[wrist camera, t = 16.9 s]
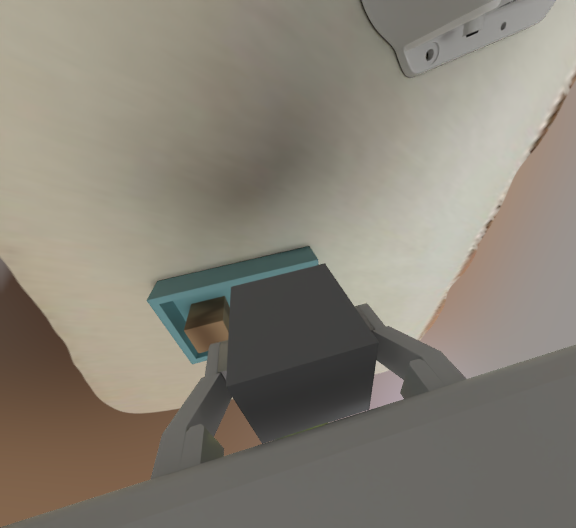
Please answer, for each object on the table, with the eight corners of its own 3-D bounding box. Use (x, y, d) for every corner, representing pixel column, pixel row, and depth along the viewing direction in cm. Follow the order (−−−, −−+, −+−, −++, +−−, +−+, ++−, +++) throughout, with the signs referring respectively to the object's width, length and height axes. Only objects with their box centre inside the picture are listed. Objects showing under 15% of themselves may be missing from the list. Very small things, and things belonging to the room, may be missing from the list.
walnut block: (224, 295, 31) (222, 320, 27) (234, 318, 34) (233, 344, 29) (191, 304, 30) (183, 330, 26) (203, 326, 33) (198, 353, 29)
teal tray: (309, 246, 31) (318, 259, 27) (315, 311, 38) (323, 328, 35) (157, 281, 29) (146, 300, 25) (196, 343, 36) (192, 364, 33)
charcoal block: (324, 263, 11) (378, 342, 7) (329, 325, 14) (369, 409, 9) (230, 286, 10) (226, 386, 6) (254, 346, 13) (262, 443, 9)
